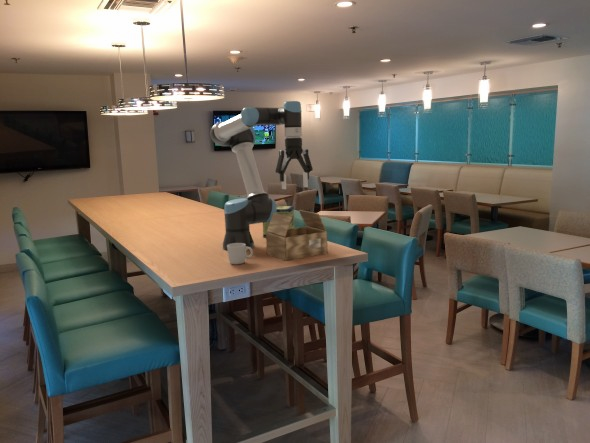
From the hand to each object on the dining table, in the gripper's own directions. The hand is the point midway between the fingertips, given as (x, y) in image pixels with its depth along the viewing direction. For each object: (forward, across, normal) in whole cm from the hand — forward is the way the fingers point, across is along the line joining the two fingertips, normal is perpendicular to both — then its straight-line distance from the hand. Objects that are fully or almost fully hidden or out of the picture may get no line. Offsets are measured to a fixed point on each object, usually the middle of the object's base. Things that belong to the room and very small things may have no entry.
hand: (294, 188), depth 213 cm
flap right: (+20, +11, 0) cm, 23 cm away
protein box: (+30, +14, +42) cm, 53 cm away
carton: (+30, 0, 0) cm, 30 cm away
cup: (+30, -28, 0) cm, 41 cm away
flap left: (+20, -11, 0) cm, 23 cm away
